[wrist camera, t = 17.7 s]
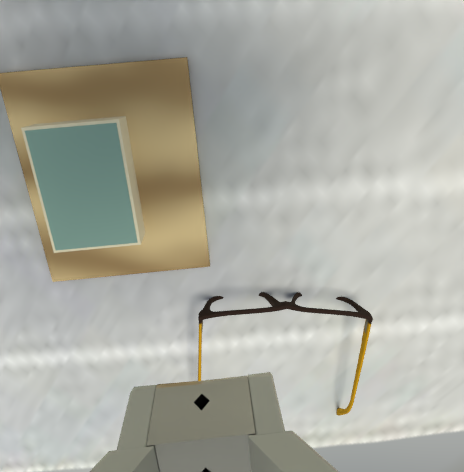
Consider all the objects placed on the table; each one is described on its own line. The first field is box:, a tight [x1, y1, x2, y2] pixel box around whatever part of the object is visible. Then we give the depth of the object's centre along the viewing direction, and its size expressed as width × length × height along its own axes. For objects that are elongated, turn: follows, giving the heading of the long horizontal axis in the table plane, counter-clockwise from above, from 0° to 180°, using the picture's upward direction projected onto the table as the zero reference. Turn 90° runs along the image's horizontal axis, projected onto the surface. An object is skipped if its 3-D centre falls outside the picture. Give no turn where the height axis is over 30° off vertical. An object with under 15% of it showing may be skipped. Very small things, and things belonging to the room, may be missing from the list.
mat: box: [0, 57, 210, 282], centre depth 31 cm, size 16×13×1 cm
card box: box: [21, 116, 145, 253], centre depth 30 cm, size 9×3×6 cm
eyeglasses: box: [198, 292, 373, 415], centre depth 37 cm, size 14×14×4 cm
